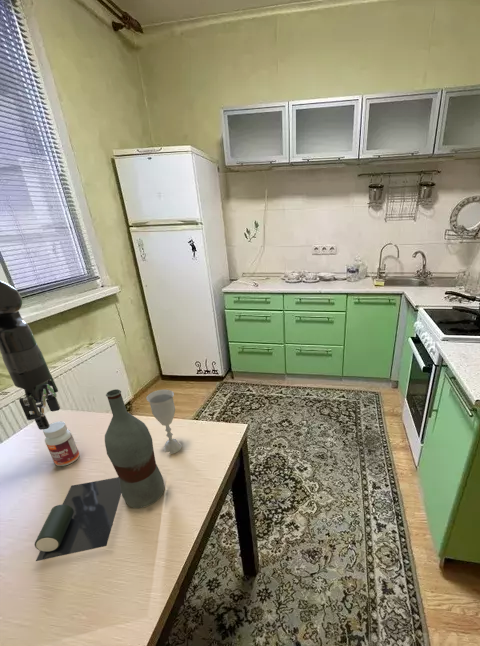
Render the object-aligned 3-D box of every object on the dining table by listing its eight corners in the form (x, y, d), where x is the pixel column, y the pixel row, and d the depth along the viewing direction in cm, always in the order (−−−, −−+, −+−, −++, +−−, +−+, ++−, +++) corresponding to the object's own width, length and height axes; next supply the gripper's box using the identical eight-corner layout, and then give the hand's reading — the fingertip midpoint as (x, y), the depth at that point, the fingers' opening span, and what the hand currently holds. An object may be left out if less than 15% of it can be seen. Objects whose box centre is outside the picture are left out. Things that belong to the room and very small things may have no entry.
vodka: (124, 518, 74) (83, 409, 60) (126, 490, 81) (90, 386, 68) (167, 505, 77) (137, 398, 63) (165, 478, 84) (138, 378, 71)
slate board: (38, 565, 65) (35, 561, 64) (73, 489, 82) (71, 485, 81) (108, 550, 67) (106, 545, 66) (127, 479, 84) (126, 475, 84)
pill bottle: (52, 469, 89) (36, 436, 84) (58, 454, 94) (44, 423, 89) (77, 463, 91) (64, 431, 85) (82, 449, 96) (69, 418, 91)
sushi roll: (36, 554, 65) (31, 539, 63) (53, 519, 72) (49, 505, 70) (61, 550, 66) (57, 536, 64) (75, 516, 73) (72, 502, 71)
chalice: (154, 452, 94) (140, 399, 86) (170, 438, 99) (158, 387, 91) (175, 458, 91) (162, 404, 83) (190, 443, 97) (179, 392, 89)
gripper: (20, 355, 84) (44, 407, 91) (-6, 380, 72) (23, 438, 79) (53, 351, 86) (73, 402, 93) (32, 374, 74) (57, 432, 81)
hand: (50, 419), depth 86 cm, fingers open, 8 cm apart
